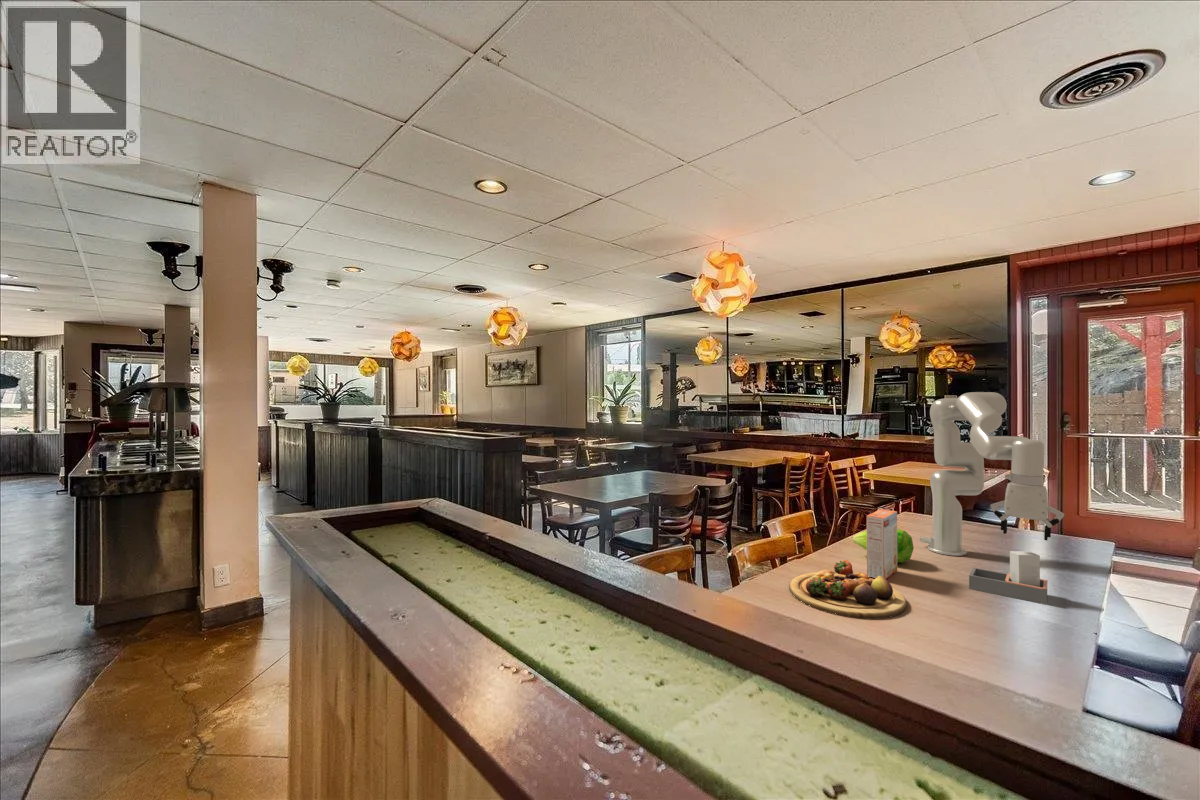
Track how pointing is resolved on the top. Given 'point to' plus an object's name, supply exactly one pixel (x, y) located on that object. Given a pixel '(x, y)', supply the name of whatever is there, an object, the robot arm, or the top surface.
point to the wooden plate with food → (848, 593)
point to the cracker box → (881, 543)
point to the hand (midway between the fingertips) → (1025, 536)
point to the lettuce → (903, 544)
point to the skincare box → (1025, 568)
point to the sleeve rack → (1006, 586)
